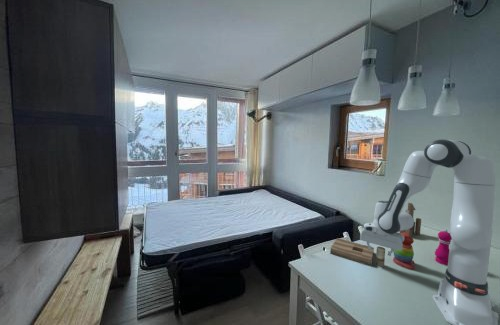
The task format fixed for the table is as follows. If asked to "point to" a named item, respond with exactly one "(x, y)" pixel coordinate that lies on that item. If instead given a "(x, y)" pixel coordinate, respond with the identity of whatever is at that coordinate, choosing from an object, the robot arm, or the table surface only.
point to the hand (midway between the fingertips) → (379, 252)
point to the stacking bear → (405, 253)
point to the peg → (380, 256)
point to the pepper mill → (443, 247)
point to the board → (352, 251)
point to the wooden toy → (416, 227)
